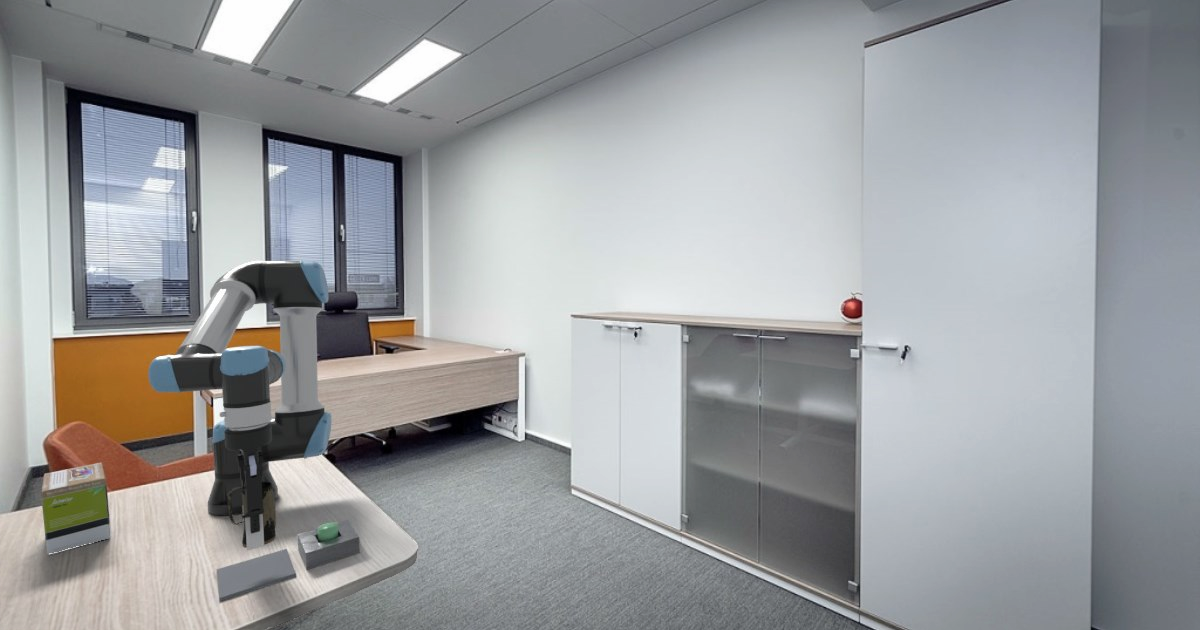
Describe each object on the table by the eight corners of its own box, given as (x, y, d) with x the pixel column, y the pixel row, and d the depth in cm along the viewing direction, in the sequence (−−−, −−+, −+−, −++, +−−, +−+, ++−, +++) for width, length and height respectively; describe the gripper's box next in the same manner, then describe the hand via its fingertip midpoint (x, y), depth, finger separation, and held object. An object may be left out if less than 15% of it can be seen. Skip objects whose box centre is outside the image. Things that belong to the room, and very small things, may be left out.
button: (316, 539, 106) (316, 526, 106) (336, 533, 109) (335, 520, 109) (320, 546, 104) (319, 532, 103) (340, 540, 106) (339, 526, 106)
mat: (216, 572, 99) (216, 569, 99) (286, 551, 107) (286, 548, 106) (219, 601, 90) (219, 598, 90) (295, 576, 97) (295, 573, 97)
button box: (298, 549, 107) (297, 534, 107) (348, 534, 113) (347, 520, 113) (306, 570, 99) (305, 553, 99) (360, 552, 106) (359, 536, 106)
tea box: (47, 533, 115) (43, 472, 114) (108, 518, 123) (104, 460, 122) (45, 557, 105) (40, 489, 104) (111, 539, 112) (107, 476, 112)
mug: (266, 531, 102) (263, 474, 101) (282, 536, 100) (280, 478, 99) (223, 549, 95) (220, 488, 94) (239, 556, 92) (236, 493, 92)
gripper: (221, 419, 101) (227, 529, 102) (227, 440, 87) (233, 567, 88) (265, 413, 106) (270, 518, 107) (277, 431, 92) (283, 553, 93)
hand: (253, 540), depth 98 cm, fingers closed on mug, 5 cm apart
